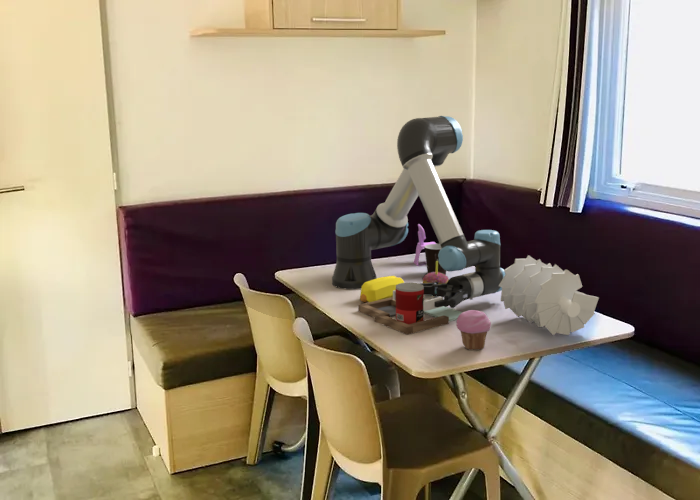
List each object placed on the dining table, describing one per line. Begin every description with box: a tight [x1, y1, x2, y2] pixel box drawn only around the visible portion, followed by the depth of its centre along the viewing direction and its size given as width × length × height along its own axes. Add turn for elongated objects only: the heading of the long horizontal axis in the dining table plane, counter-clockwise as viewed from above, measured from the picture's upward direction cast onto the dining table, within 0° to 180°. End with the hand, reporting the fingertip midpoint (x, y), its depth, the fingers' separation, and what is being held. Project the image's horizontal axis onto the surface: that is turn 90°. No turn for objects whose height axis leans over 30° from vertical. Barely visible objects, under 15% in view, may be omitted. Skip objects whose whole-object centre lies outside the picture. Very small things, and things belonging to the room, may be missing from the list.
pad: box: [424, 306, 464, 322], centre depth 229 cm, size 12×8×1 cm, turn 34°
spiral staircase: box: [499, 254, 600, 336], centre depth 215 cm, size 18×18×25 cm
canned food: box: [395, 282, 425, 324], centre depth 221 cm, size 8×8×11 cm
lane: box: [357, 297, 450, 336], centre depth 227 cm, size 26×15×2 cm, turn 34°
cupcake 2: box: [455, 309, 492, 351], centre depth 200 cm, size 9×9×10 cm
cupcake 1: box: [422, 259, 450, 294], centre depth 249 cm, size 9×8×12 cm
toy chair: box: [413, 223, 437, 267], centre depth 288 cm, size 8×9×15 cm
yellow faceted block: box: [359, 275, 405, 303], centre depth 246 cm, size 18×7×8 cm
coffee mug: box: [424, 243, 447, 276], centre depth 272 cm, size 12×9×10 cm
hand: (408, 300), depth 220 cm, fingers open, 13 cm apart
